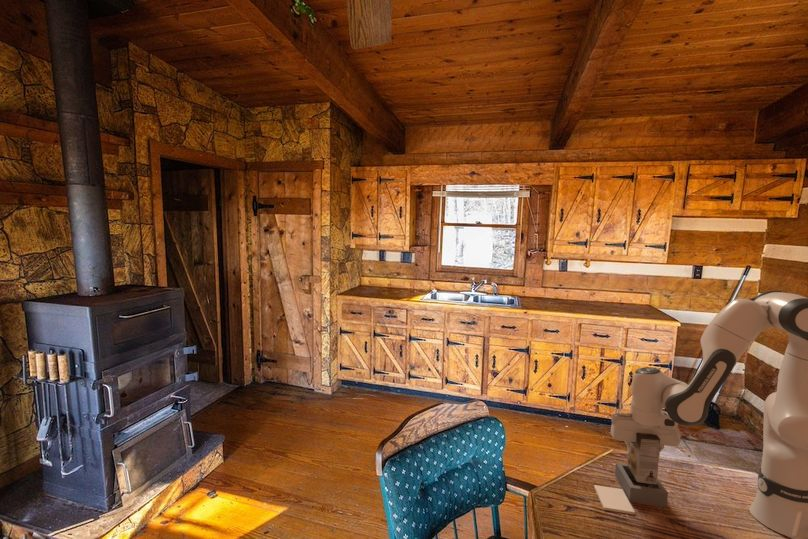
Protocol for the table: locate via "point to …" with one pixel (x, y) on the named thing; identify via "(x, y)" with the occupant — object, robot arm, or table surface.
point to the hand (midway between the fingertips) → (643, 453)
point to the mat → (613, 499)
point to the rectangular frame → (640, 488)
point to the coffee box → (645, 458)
